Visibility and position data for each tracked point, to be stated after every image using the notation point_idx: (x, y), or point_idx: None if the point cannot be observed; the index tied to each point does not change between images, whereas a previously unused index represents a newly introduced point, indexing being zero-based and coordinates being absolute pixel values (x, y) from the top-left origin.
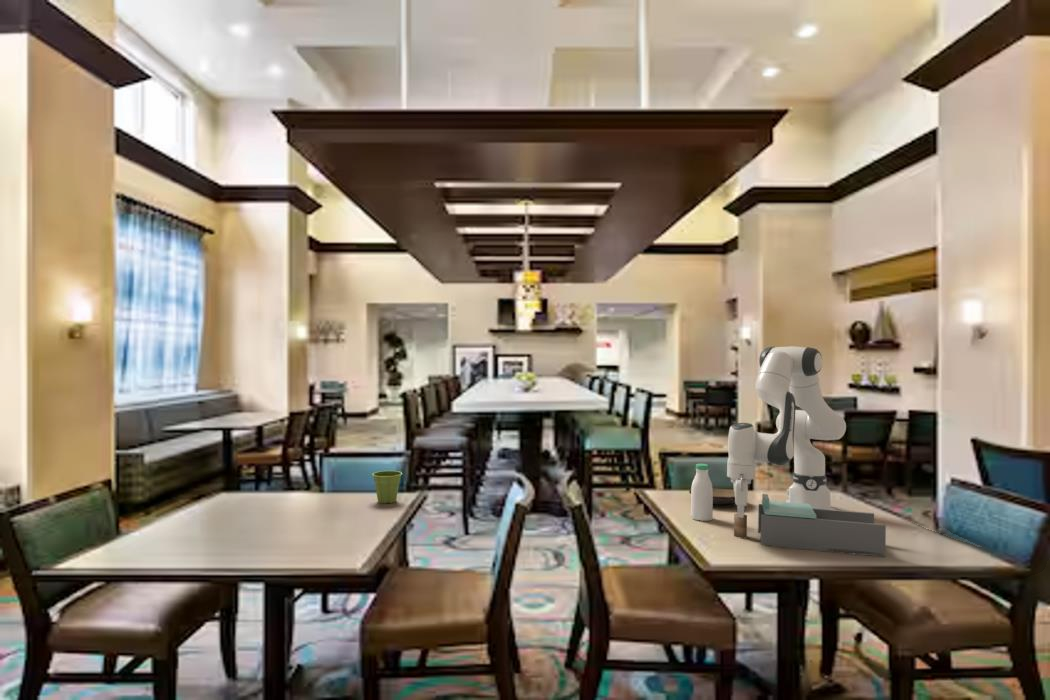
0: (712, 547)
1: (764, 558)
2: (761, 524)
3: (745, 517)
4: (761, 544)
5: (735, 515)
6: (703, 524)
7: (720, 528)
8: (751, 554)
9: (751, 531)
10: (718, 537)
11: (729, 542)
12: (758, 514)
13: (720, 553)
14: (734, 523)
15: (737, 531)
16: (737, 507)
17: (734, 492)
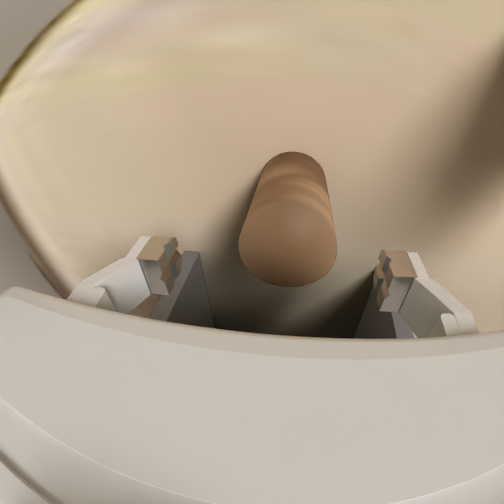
0: (64, 85)
1: (66, 242)
2: (151, 314)
3: (257, 271)
4: (184, 253)
5: (260, 214)
6: (470, 31)
7: (424, 99)
8: (70, 213)
9: (394, 241)
10: (220, 72)
11: (154, 131)
12: (401, 329)
13: (31, 128)
14: (279, 179)
15: (261, 178)
16: (389, 266)
17: (471, 372)
